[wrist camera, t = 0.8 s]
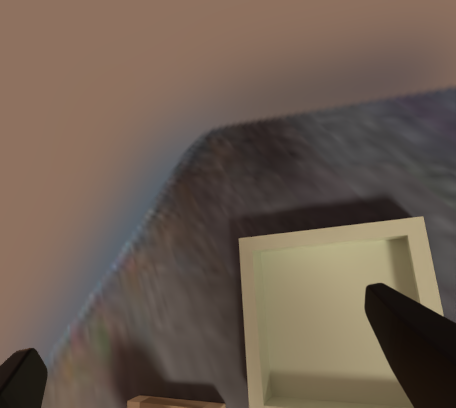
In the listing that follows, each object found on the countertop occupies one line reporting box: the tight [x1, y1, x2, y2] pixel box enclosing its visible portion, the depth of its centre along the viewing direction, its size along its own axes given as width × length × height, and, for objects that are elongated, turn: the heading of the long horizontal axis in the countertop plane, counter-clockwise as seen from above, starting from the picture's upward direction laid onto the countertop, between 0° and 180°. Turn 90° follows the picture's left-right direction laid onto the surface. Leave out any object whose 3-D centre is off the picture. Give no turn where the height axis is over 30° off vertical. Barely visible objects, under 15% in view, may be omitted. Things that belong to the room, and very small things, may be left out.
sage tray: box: [239, 217, 443, 408], centre depth 22 cm, size 12×12×2 cm
